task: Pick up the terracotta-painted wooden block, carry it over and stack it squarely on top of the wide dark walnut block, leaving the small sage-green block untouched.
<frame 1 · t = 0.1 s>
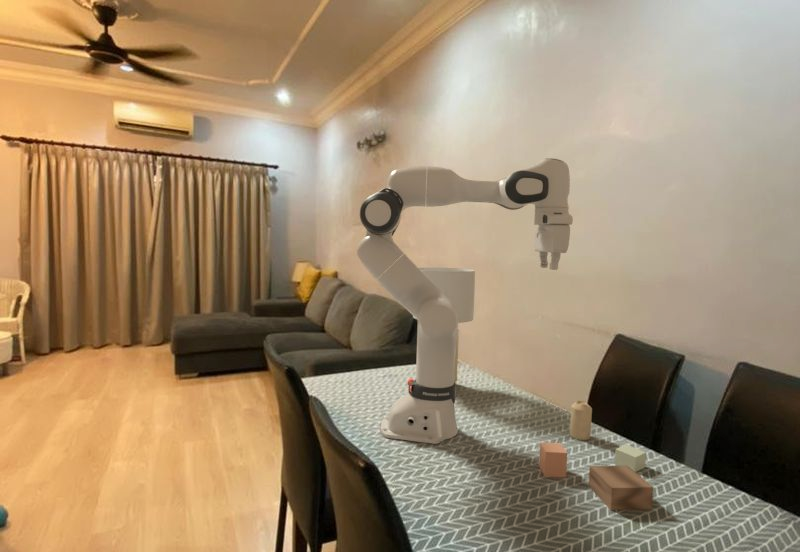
hand: (548, 268, 125), 48 cm above the table, fingers open, 8 cm apart
candle: (579, 436, 128), on the table
lamp: (440, 385, 171), on the table
terracotta block: (552, 471, 108), on the table
sage block: (629, 466, 112), on the table
walnut block: (618, 498, 97), on the table
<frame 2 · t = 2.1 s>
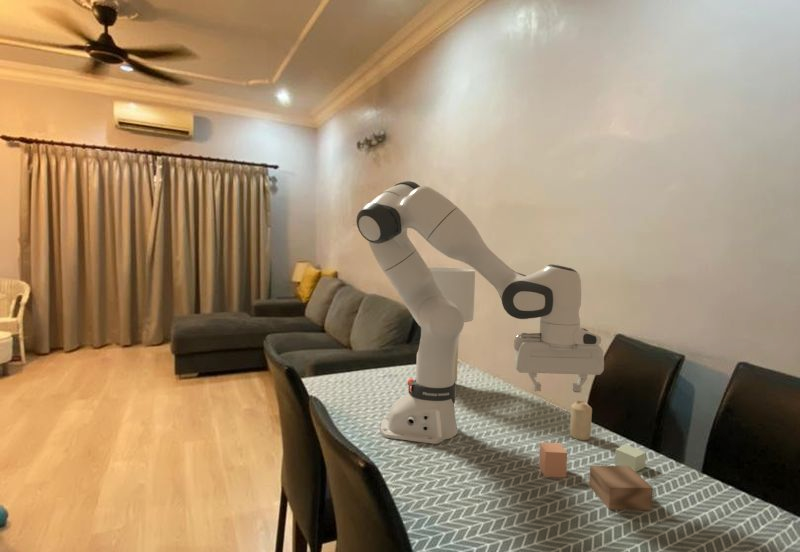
hand: (556, 391, 106), 20 cm above the table, fingers open, 8 cm apart
nothing on the table moved.
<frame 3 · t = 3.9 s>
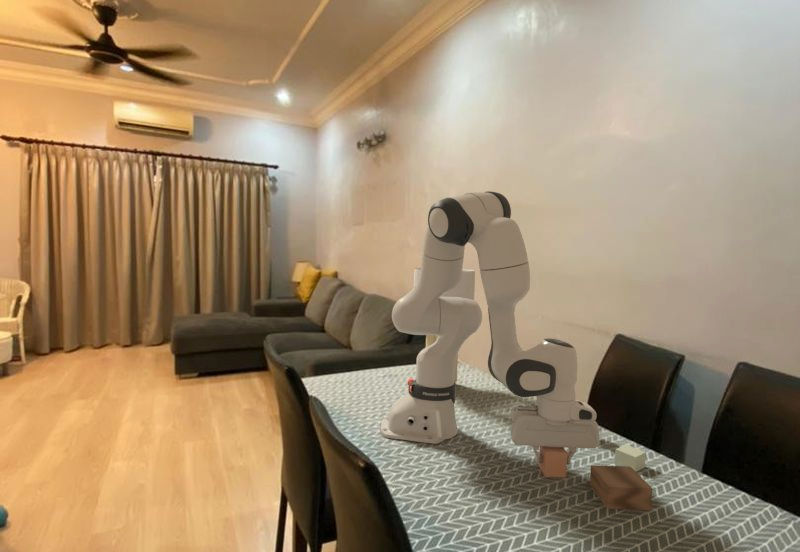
hand: (552, 462, 108), 2 cm above the table, fingers closed on terracotta block, 5 cm apart
terracotta block: (552, 471, 108), on the table, touching gripper
everything else where it was.
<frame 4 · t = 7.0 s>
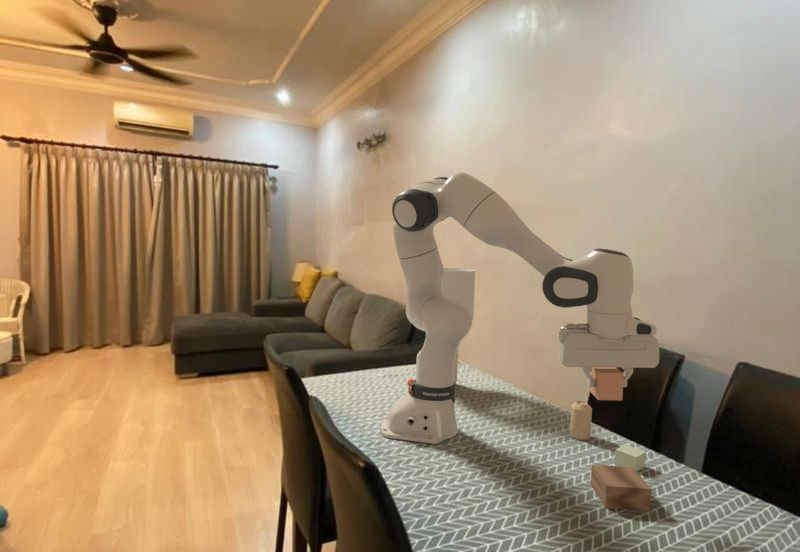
hand: (606, 386, 98), 24 cm above the table, fingers closed on terracotta block, 5 cm apart
terracotta block: (605, 395, 98), point 22 cm above the table, touching gripper
everything else where it was.
when the fingers open (8 cm above the table, at t = 9.6 s): terracotta block drops 1 cm, resting on walnut block.
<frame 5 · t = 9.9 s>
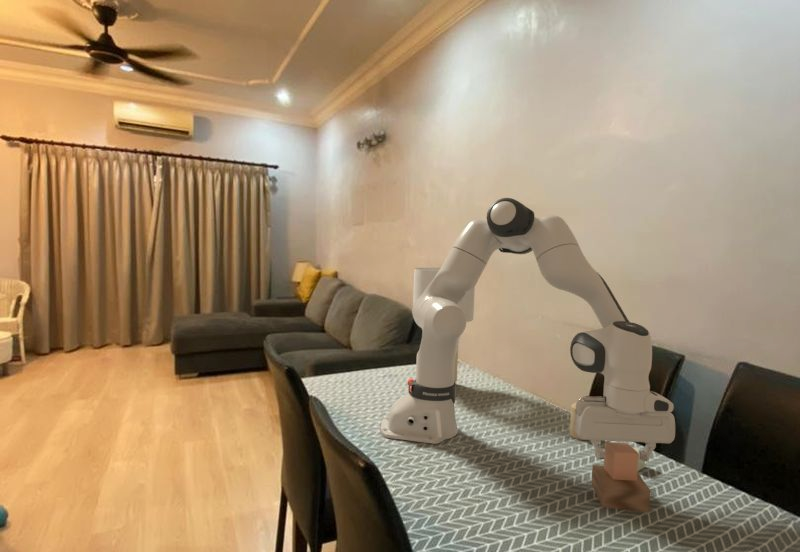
hand: (621, 459, 98), 8 cm above the table, fingers open, 8 cm apart
terracotta block: (619, 474, 98), point 5 cm above the table, touching walnut block
walnut block: (618, 498, 97), on the table, touching terracotta block
everything else where it was.
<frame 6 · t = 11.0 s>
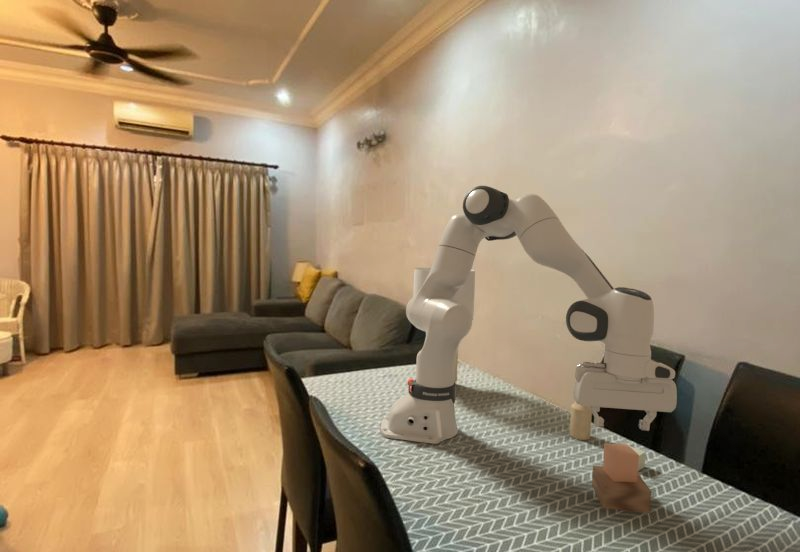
hand: (621, 427, 96), 16 cm above the table, fingers open, 8 cm apart
terracotta block: (619, 475, 97), point 5 cm above the table
walnut block: (619, 499, 97), on the table
everything else where it was.
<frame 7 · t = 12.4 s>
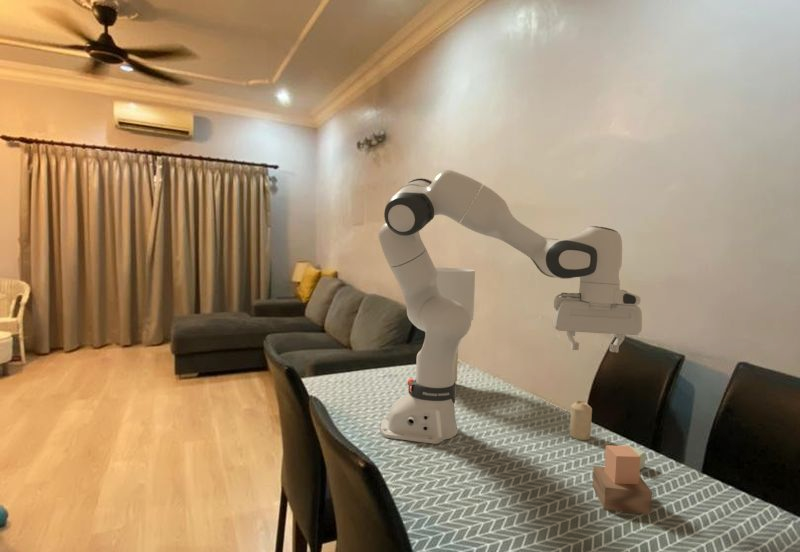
hand: (593, 350, 109), 29 cm above the table, fingers open, 8 cm apart
terracotta block: (621, 477, 96), point 5 cm above the table, touching walnut block
walnut block: (619, 500, 97), on the table, touching terracotta block
everything else where it was.
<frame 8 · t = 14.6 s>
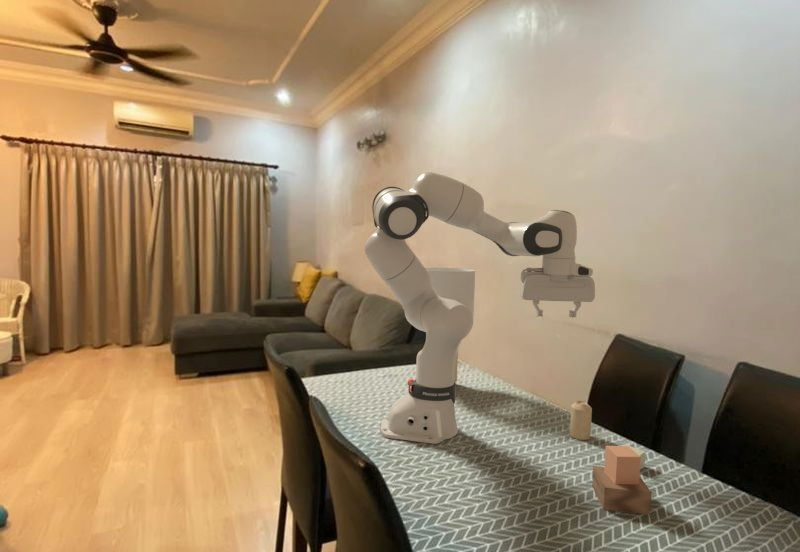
hand: (555, 316, 128), 34 cm above the table, fingers open, 8 cm apart
nothing on the table moved.
at the end: terracotta block inside the target area on the walnut block (0.2 cm from its centre), point 5.0 cm above the walnut block's base; terracotta block tilted 1°; the gripper is holding nothing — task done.
